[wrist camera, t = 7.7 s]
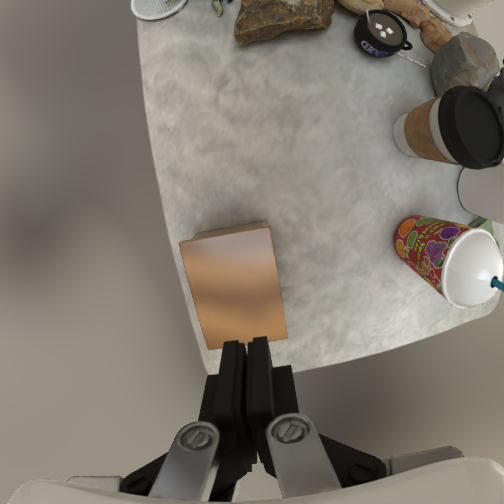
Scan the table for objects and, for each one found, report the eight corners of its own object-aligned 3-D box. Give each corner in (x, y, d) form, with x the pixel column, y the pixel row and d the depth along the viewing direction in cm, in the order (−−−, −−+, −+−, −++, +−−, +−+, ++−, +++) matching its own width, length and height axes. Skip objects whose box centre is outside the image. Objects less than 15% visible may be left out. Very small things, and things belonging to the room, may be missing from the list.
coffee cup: (397, 174, 34) (470, 182, 20) (374, 113, 32) (440, 87, 18) (442, 156, 33) (518, 159, 19) (422, 99, 31) (493, 77, 17)
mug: (344, 52, 30) (364, 29, 22) (350, 17, 28) (368, -8, 21) (423, 85, 30) (453, 73, 23) (426, 50, 29) (453, 34, 21)
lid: (180, 241, 29) (178, 243, 28) (269, 224, 28) (269, 226, 27) (208, 346, 32) (208, 350, 31) (287, 335, 31) (288, 338, 31)
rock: (271, 53, 24) (203, 10, 24) (273, 76, 30) (215, 35, 30) (353, -8, 22) (286, -45, 21) (344, 18, 28) (286, -19, 27)
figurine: (486, 92, 27) (384, -5, 23) (469, 94, 31) (373, 6, 27) (496, 64, 25) (402, -28, 22) (481, 67, 29) (391, -17, 25)
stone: (472, 87, 29) (467, 126, 30) (426, 62, 30) (418, 100, 31) (507, 48, 17) (508, 92, 18) (450, 14, 18) (447, 55, 20)
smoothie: (407, 195, 35) (517, 224, 15) (443, 229, 36) (545, 274, 17) (374, 247, 37) (467, 315, 17) (413, 277, 38) (502, 348, 19)
